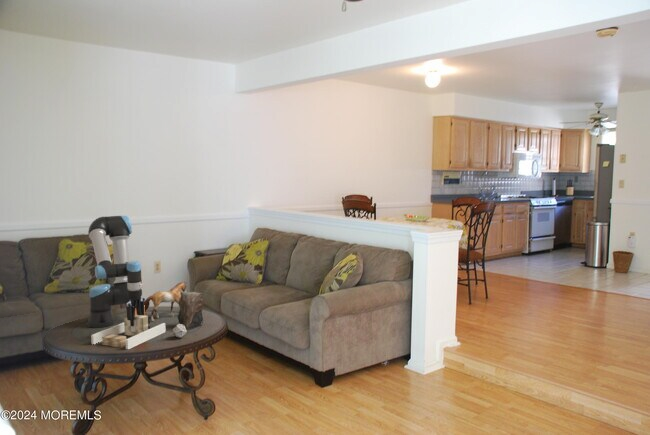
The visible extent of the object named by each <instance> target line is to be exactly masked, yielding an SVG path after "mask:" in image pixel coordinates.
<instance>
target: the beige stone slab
mask: <svg viewBox="0 0 650 435" xmlns="http://www.w3.org/2000/svg"><path fill="white" fill-rule="evenodd" d="M134 320H136V332H131V326H130V320H127V314H124V315H123V322H124V328H125V332H124V336H130V337H133V336H135V335H137V334H140V333H142V332H144V331H146V330H149V315H145V314H144V315H137V314H135V319H134Z"/></svg>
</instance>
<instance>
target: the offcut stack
mask: <svg viewBox="0 0 650 435" xmlns="http://www.w3.org/2000/svg"><path fill="white" fill-rule="evenodd" d="M126 339H127V335H120V334H118V335H112V334H109V335H106V336H104V337H102V340H103V341H101V345H103V346H109V347H115V348H120V349H121V348H123V347H126Z"/></svg>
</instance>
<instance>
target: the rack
mask: <svg viewBox="0 0 650 435" xmlns="http://www.w3.org/2000/svg"><path fill="white" fill-rule="evenodd" d="M166 329H167V328H166V323H165V322H162V323H160V324H158V325H155V326H153V327H151V328H148V330H146V331H144V332H142V333H140V334H137V335H135V336H130V337H128V338H126V346H125V350H130V349H132V348H134V347H136V346H139V345H140V344H143V343H145V342H148V341H149V340H152V339H154V338H156V337H158V336H160V335H162V334H164V333H166ZM123 333H125V328H124V321H123V322H121V323H119V324H116V325H112V326H111V327H108V328H105V329H103V330H101V331H98V332H96V333H92V334H90V335H91V336H90V338H91V345H93V344H94V345H96V343H97V344H98V342H99V343H102V342H103V340H102V337H104V336H106V335H109V334H112V335H120V334H123Z"/></svg>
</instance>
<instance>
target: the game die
mask: <svg viewBox="0 0 650 435" xmlns="http://www.w3.org/2000/svg"><path fill="white" fill-rule="evenodd" d="M170 329H171V331H172V332H173V334H172V335H173V336H174V338H180V340H182V338H183V337H185V335H186V334H188V333H189V331H188V330H186V327H185V324H184V325H183V324H179V321H178V323H177V324H175V326H174V327H173V328H170Z"/></svg>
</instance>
